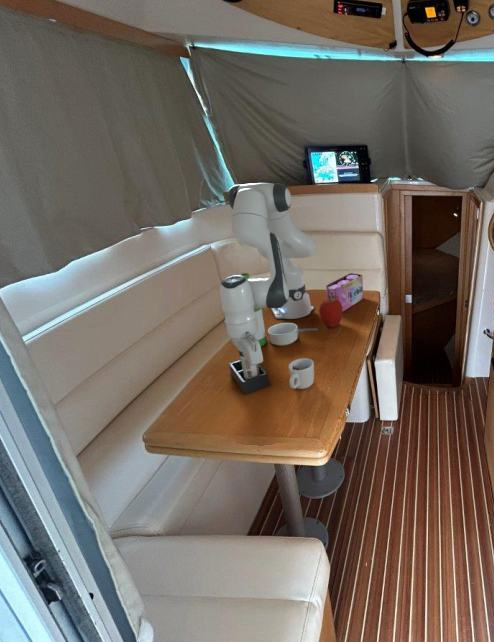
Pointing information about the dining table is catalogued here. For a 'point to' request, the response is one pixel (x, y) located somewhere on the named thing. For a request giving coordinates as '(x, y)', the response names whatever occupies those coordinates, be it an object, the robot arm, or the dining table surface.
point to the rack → (250, 383)
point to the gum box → (346, 290)
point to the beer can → (247, 367)
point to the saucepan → (285, 333)
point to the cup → (301, 373)
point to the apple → (331, 312)
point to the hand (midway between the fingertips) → (249, 365)
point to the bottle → (259, 322)
